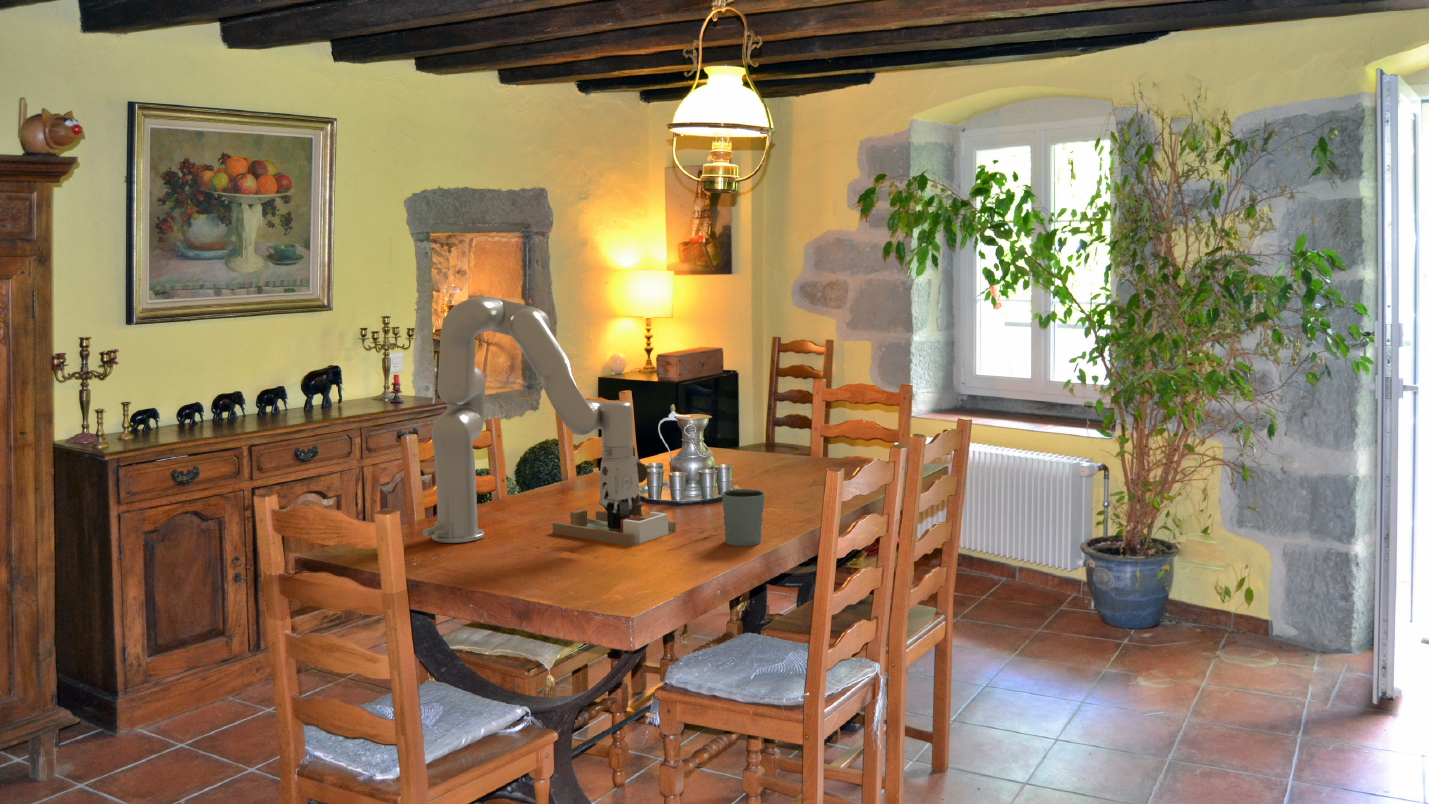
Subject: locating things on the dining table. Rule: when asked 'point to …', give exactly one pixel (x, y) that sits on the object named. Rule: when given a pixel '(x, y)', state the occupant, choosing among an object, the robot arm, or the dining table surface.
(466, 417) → the robot arm
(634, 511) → the kendama
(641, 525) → the open rectangular tray
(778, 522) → the dining table surface
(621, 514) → the block
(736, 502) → the grey cup
